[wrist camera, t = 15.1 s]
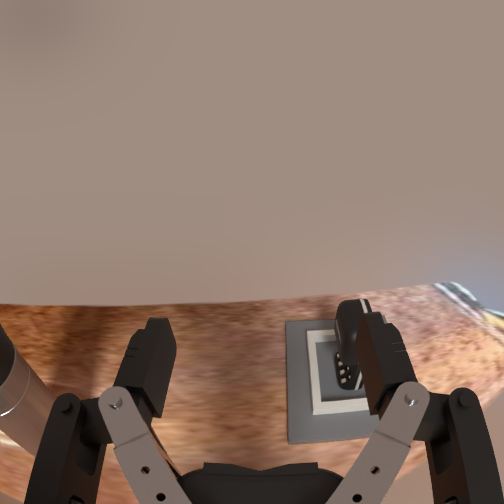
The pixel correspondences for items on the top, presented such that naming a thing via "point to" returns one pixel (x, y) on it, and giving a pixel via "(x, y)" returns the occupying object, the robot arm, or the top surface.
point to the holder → (321, 389)
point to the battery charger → (349, 342)
